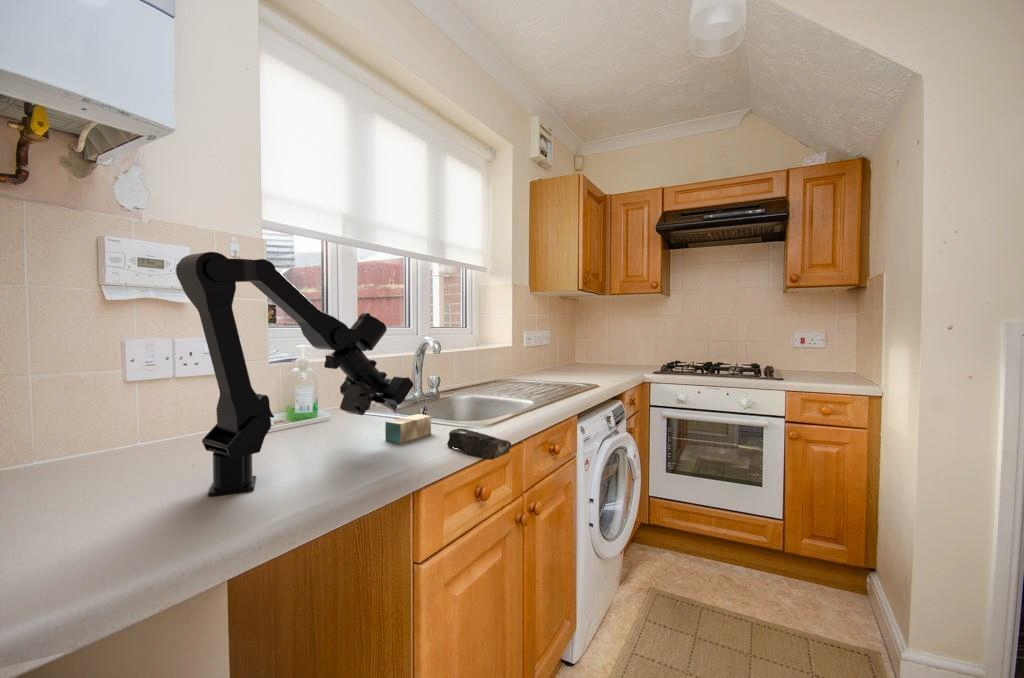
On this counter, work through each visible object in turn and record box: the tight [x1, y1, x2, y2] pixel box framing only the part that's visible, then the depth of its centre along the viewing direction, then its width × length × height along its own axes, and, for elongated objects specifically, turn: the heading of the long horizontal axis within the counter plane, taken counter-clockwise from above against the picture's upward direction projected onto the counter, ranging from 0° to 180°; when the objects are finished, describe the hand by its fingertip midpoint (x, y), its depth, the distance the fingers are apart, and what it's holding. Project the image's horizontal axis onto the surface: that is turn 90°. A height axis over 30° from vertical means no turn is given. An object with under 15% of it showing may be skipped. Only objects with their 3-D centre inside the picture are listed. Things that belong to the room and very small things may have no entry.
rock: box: [446, 428, 512, 461], centre depth 101 cm, size 8×16×4 cm, turn 58°
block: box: [384, 413, 432, 444], centre depth 112 cm, size 4×4×11 cm
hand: (395, 409), depth 108 cm, fingers closed
